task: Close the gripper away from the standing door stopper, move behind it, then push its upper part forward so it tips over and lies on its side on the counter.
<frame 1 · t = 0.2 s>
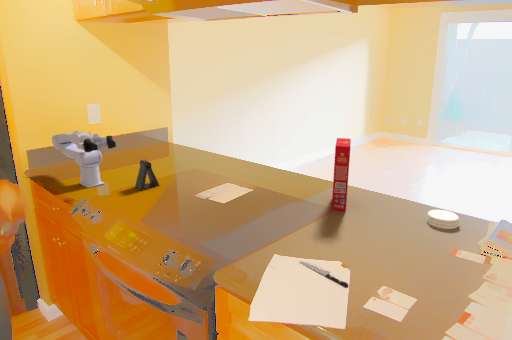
hand: (106, 146, 154), 21 cm above the counter, tool horizontal, fingers open, 7 cm apart
chef's knife: (320, 272, 103), on the counter
door stopper: (147, 186, 170), on the counter
food packaging: (339, 204, 149), on the counter
coaster: (441, 224, 132), on the counter
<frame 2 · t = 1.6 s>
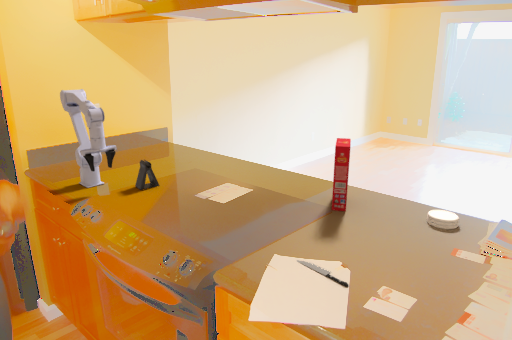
hand: (101, 169, 159), 10 cm above the counter, tool pointing down, fingers open, 7 cm apart
nothing on the counter moved.
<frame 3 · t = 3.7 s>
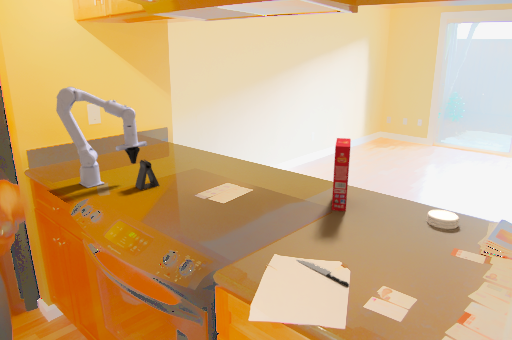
hand: (133, 163, 175), 9 cm above the counter, tool pointing down, fingers closed
nothing on the counter moved.
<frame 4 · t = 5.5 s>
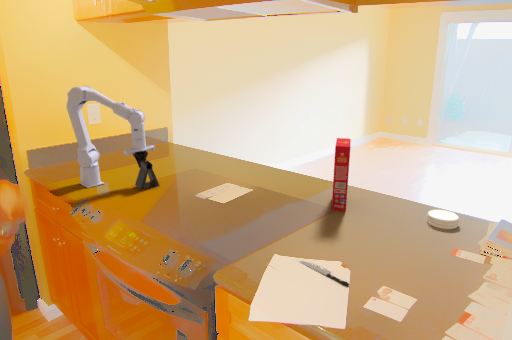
hand: (141, 167, 170), 8 cm above the counter, tool pointing down, fingers closed
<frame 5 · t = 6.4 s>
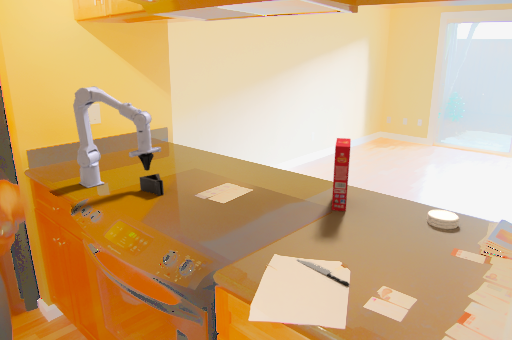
hand: (146, 169, 167), 8 cm above the counter, tool pointing down, fingers closed
door stopper: (149, 181, 167), point 3 cm above the counter
everything else where it was.
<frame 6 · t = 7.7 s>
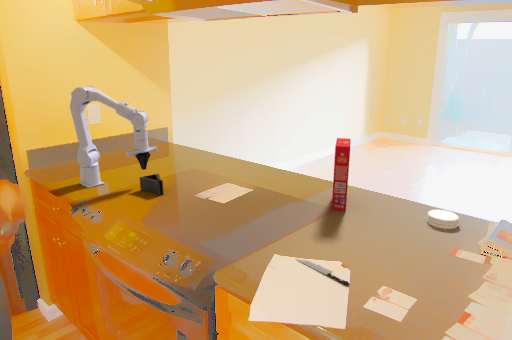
hand: (143, 169, 169), 8 cm above the counter, tool pointing down, fingers closed
nothing on the counter moved.
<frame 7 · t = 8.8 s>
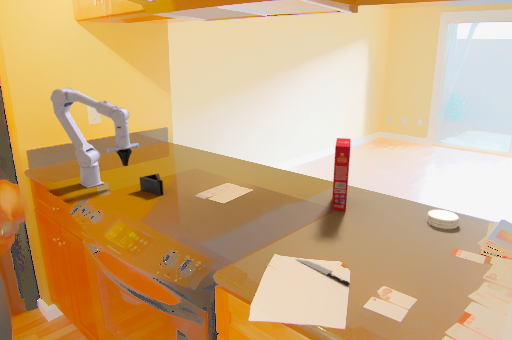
hand: (125, 165, 169), 9 cm above the counter, tool pointing down, fingers closed
nothing on the counter moved.
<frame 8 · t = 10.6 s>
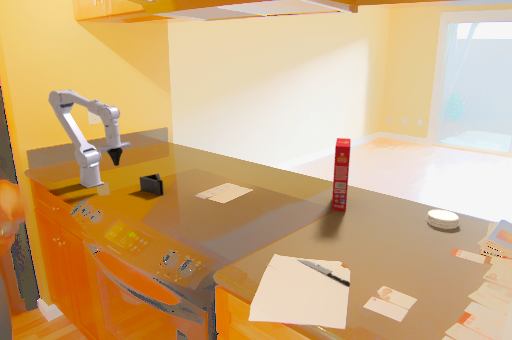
hand: (116, 165, 165), 10 cm above the counter, tool pointing down, fingers closed
nothing on the counter moved.
at the end: door stopper tilted 90°; door stopper inside the target area (2.8 cm from its centre), point 3.0 cm above the counter; the gripper is holding nothing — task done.
